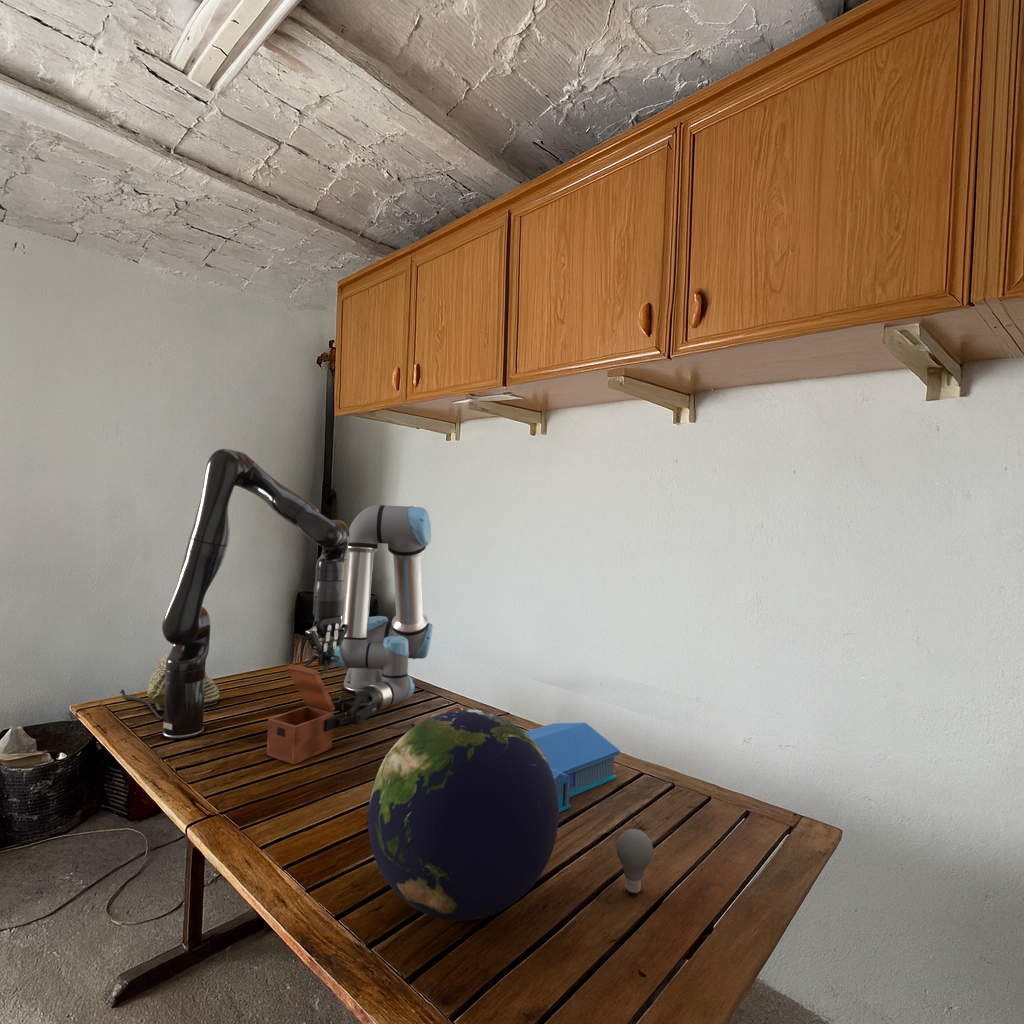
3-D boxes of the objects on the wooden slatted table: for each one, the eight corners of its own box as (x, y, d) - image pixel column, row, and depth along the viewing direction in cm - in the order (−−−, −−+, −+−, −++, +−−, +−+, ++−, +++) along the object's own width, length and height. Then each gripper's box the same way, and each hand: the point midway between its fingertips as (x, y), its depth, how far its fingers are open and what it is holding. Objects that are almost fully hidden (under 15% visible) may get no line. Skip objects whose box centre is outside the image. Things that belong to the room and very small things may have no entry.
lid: (313, 673, 153) (338, 648, 160) (286, 667, 157) (311, 643, 164) (332, 712, 159) (354, 686, 166) (305, 704, 163) (328, 680, 170)
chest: (293, 764, 149) (295, 727, 149) (266, 755, 153) (268, 718, 153) (332, 748, 159) (333, 713, 159) (305, 739, 164) (307, 705, 164)
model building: (501, 837, 120) (504, 785, 120) (427, 790, 139) (429, 744, 138) (628, 782, 147) (630, 739, 147) (552, 748, 165) (553, 710, 165)
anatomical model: (409, 713, 175) (423, 701, 186) (408, 727, 175) (423, 714, 186) (455, 719, 172) (467, 706, 184) (455, 733, 172) (466, 719, 184)
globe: (322, 932, 92) (330, 728, 92) (425, 835, 120) (432, 678, 119) (512, 1001, 81) (522, 769, 81) (577, 877, 109) (585, 703, 108)
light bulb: (610, 879, 108) (613, 822, 108) (644, 879, 109) (647, 822, 109) (619, 902, 102) (622, 840, 102) (655, 901, 103) (658, 840, 103)
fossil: (144, 707, 182) (145, 655, 182) (212, 696, 194) (213, 647, 194) (151, 716, 175) (153, 662, 175) (221, 703, 188) (223, 653, 188)
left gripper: (319, 602, 155) (315, 672, 155) (358, 596, 167) (355, 662, 167) (297, 598, 158) (294, 667, 159) (337, 593, 170) (334, 657, 170)
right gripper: (402, 720, 173) (342, 746, 154) (342, 704, 184) (279, 726, 165) (403, 692, 173) (343, 715, 154) (343, 678, 184) (281, 698, 164)
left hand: (325, 664), depth 163 cm, fingers closed on lid
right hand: (310, 721), depth 159 cm, fingers closed on chest, 9 cm apart
